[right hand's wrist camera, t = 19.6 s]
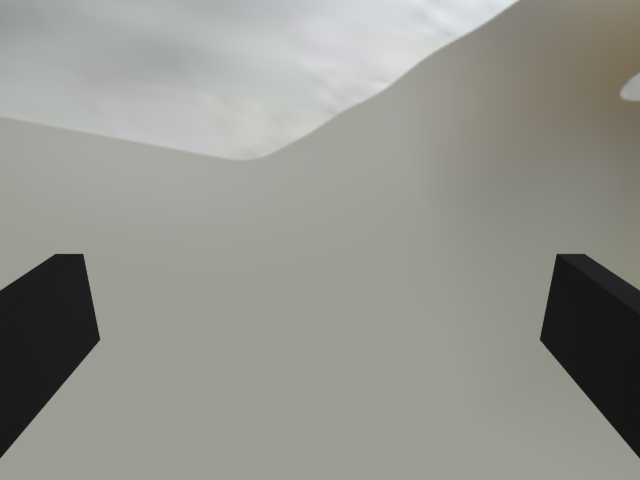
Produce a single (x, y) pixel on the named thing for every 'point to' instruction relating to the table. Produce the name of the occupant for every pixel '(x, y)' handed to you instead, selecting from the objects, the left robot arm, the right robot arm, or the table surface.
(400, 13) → the table surface
